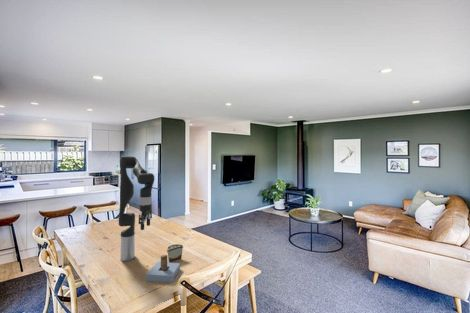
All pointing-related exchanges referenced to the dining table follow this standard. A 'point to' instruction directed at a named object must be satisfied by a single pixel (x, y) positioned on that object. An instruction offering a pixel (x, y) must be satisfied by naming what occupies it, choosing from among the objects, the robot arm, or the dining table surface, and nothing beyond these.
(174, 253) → the food container
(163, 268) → the walnut peg
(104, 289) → the dining table surface
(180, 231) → the dining table surface
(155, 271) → the socket block
